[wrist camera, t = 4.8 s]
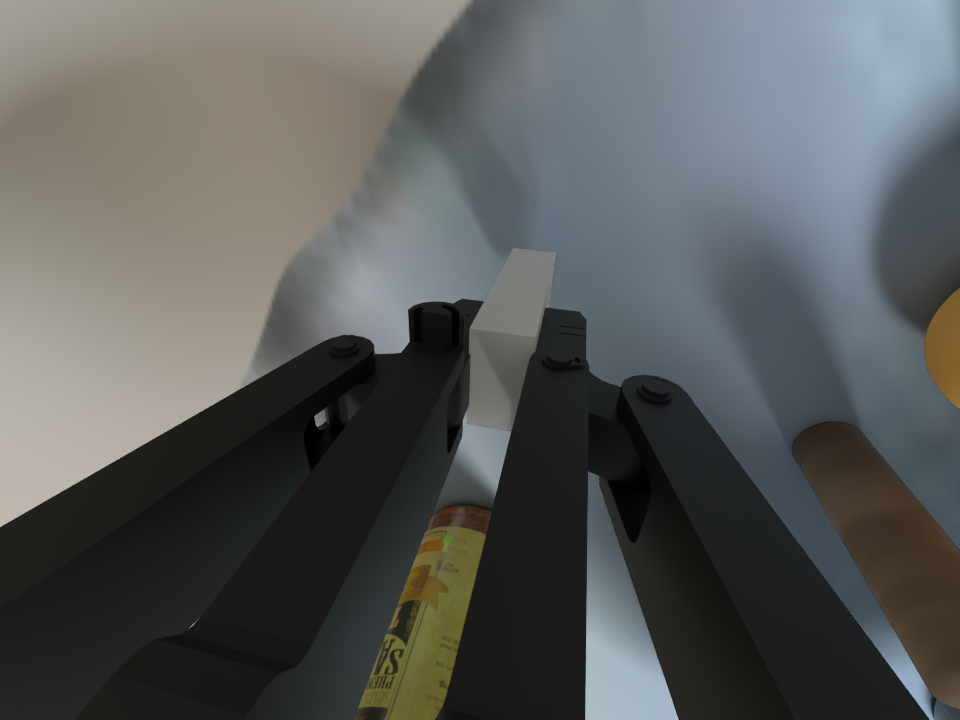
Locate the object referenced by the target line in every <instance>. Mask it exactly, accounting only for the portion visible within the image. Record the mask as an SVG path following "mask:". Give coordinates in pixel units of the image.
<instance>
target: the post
mask: <svg viewBox="0 0 960 720" xmlns="http://www.w3.org/2000/svg"><path fill="white" fill-rule="evenodd" d="M792 454H793V456H794V458H795V460H796V462H797V463H798V465H799V467H800V469H801V470H802V472H803V474H804V475H805V477H806V479H807V481H808V482H809V484H810V486H811V488H812V489H813V491H814V493H815V494H816V496H817V498H818V500H819V501H820V503H821V505H822V507H823V508H824V510H825V512H826V513H827V515H828V517H829V519H830V520H831V522H832V524H833V526H834V527H835V529H836V531H837V532H838V534H839V536H840V538H841V539H842V541H843V543H844V545H845V546H846V548H847V550H848V551H849V553H850V555H851V557H852V558H853V560H854V562H855V564H856V565H857V567H858V569H859V570H860V572H861V574H862V576H863V577H864V579H865V581H866V583H867V584H868V586H869V588H870V589H871V591H872V593H873V595H874V596H875V598H876V600H877V602H878V603H879V605H880V607H881V608H882V610H883V612H884V614H885V615H886V617H887V619H888V621H889V622H890V624H891V626H892V628H893V629H894V631H895V633H896V634H897V636H898V638H899V640H900V641H901V643H902V645H903V647H904V648H905V650H906V652H907V653H908V655H909V657H910V659H911V660H912V662H913V664H914V666H915V667H916V669H917V671H918V672H919V674H920V676H921V678H922V679H923V681H924V683H925V685H926V686H927V688H928V690H929V691H930V693H931V694H932V695H933V696H934V697H935V698H936V699H937V700H939V701H941V702H942V703H944V704H946V705H949V706H951V707H954V708H958V709H960V550H959V549H958V548H957V546H956V545H955V544H954V543H953V542H952V540H951V539H950V538H949V537H948V536H947V534H946V533H945V532H944V531H943V530H942V528H941V527H940V526H939V525H938V524H937V522H936V521H935V520H934V519H933V518H932V516H931V515H930V514H929V513H928V512H927V510H926V509H925V508H924V507H923V505H922V504H921V503H920V502H919V501H918V499H917V498H916V497H915V496H914V495H913V493H912V492H911V491H910V490H909V489H908V487H907V486H906V485H905V484H904V483H903V481H902V480H901V479H900V478H899V477H898V475H897V474H896V473H895V472H894V471H893V469H892V468H891V467H890V466H889V465H888V463H887V462H886V461H885V460H884V459H883V457H882V456H881V455H880V454H879V452H878V451H877V450H876V449H875V448H874V446H873V445H872V444H871V443H870V442H869V440H868V439H867V438H866V437H865V436H864V434H863V433H862V432H861V431H860V430H859V429H858V428H856V427H855V426H852V425H850V424H847V423H841V422H827V423H822V424H818V425H815V426H812V427H810V428H808V429H806V430H805V431H803V432H802V433H801V434H800V435H799V436H798V437H797V438H796V439H795V441H794V443H793V446H792Z"/></svg>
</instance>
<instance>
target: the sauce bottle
mask: <svg viewBox="0 0 960 720" xmlns="http://www.w3.org/2000/svg"><path fill="white" fill-rule="evenodd" d="M491 513H492V512H491V511H488V510H484V509H481V508H479V507H475V506H470V505H460V506H457V505H456V506H452V507H448V508H445V509H443V510H441V511H439V512H438V513H436V514H435V515H434V516H433V517H432V518H431V519H430V521H429V524H428V527H427V529H426V532H425V534H424V537H423V540H422V542H421V545H420V547H419V550H418V553H417V555H416V558H415V561H414V563H413V566H412V568H411V571H410V574H409V576H408V579H407V581H406V584H405V587H404V589H403V592H402V594H401V597H400V600H399V602H398V605H397V607H396V610H395V613H394V615H393V618H392V621H391V623H390V626H389V628H388V631H387V634H386V636H385V639H384V641H383V644H382V647H381V649H380V652H379V654H378V657H377V660H376V662H375V665H374V667H373V670H372V673H371V675H370V678H369V680H368V683H367V686H366V688H365V691H364V694H363V696H362V699H361V701H360V704H359V707H358V709H357V712H356V714H355V717H354V720H435V718H436V717H437V715H438V713H439V712H440V710H441V708H442V706H443V703H444V700H445V698H446V694H447V690H448V687H449V683H450V679H451V675H452V671H453V667H454V663H455V659H456V654H457V650H458V646H459V642H460V638H461V634H462V630H463V626H464V622H465V618H466V614H467V610H468V606H469V602H470V598H471V594H472V590H473V586H474V582H475V577H476V573H477V569H478V565H479V561H480V557H481V553H482V549H483V545H484V541H485V537H486V533H487V529H488V525H489V521H490V517H491Z"/></svg>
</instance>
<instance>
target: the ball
mask: <svg viewBox="0 0 960 720" xmlns="http://www.w3.org/2000/svg"><path fill="white" fill-rule="evenodd" d="M924 354H925V360H926V365H927V369H928V371H929V373H930V375H931V377H932V379H933V381H934V383H935V384H936V386H937V387H938V389H939V390H940V391H941V392H942V393H943V395H944V396H945V397H946V398H947V399H948V400H949V401H950V402H951V403H952V404H954V405H955V406H956V407H957V408H959V409H960V288H959V289H957V290H956V291H955V292H954V293H953V294H952V295H950V296H949V297H948V298H947V300H946V301H945V302H944V303H943V304H942V305H941V306H940V308H939V309H938V310H937V312H936V313H935V315H934V316H933V318H932V320H931V322H930V324H929V327H928V330H927V333H926V338H925V344H924Z"/></svg>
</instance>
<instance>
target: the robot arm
mask: <svg viewBox="0 0 960 720" xmlns="http://www.w3.org/2000/svg"><path fill="white" fill-rule="evenodd" d="M555 256H556V252H549V251H539V250H529V249H519V248H513V249H512V251H511V253H510V255H509V257H508V258H507V260H506V262H505V264H504V266H503V268H502V270H501V271H500V273H499V275H498V277H497V279H496V281H495V282H494V284H493V286H492V288H491V290H490V292H489V293H488V295H487V297H486V299H485V301H476V300H467V299H461V300H459V301H457V302H455V303H453V304H451V303H446V302H426V303H421V304H418V305H415V306H413V307H411V308H410V309H408V316H409V335H410V342H409V343H408V345H407V346H406V347H405V349H404V350H403V351H402V353H396V354H375V351H374V345H373V343H372V342H371V341H370V340H368V339H366V338H364V337H359V336H355V335H348V336H347V335H342V336H339V337H335V338H331V339H328V340H326V341H324V342H322V343H320V344H318V345H316V346H315V347H313V348H311V349H309V350H308V351H306V352H304V353H302V354H301V355H299V356H297V357H295V358H294V359H292V360H290V361H289V362H287V363H285V364H283V365H282V366H280V367H278V368H276V369H275V370H273V371H271V372H269V373H268V374H266V375H264V376H262V377H261V378H259V379H257V380H255V381H254V382H252V383H250V384H249V385H247V386H245V387H243V388H242V389H240V390H238V391H236V392H235V393H233V394H231V395H229V396H228V397H226V398H224V399H222V400H221V401H219V402H217V403H216V404H214V405H212V406H210V407H209V408H207V409H205V410H203V411H202V412H200V413H198V414H196V415H195V416H193V417H191V418H189V419H188V420H186V421H184V422H183V423H181V424H179V425H177V426H175V427H174V428H172V429H170V430H169V431H167V432H165V433H163V434H162V435H160V436H158V437H156V438H155V439H153V440H151V441H149V442H148V443H146V444H144V445H143V446H141V447H139V448H137V449H135V450H134V451H132V452H130V453H128V454H127V455H125V456H123V457H122V458H120V459H118V460H116V461H115V462H113V463H111V464H109V465H108V466H106V467H104V468H102V469H101V470H99V471H97V472H95V473H94V474H92V475H90V476H88V477H87V478H85V479H83V480H82V481H80V482H78V483H76V484H75V485H73V486H71V487H69V488H68V489H66V490H64V491H62V492H61V493H59V494H57V495H55V496H54V497H52V498H50V499H49V500H47V501H45V502H43V503H42V504H40V505H38V506H36V507H35V508H33V509H31V510H29V511H28V512H26V513H24V514H22V515H21V516H19V517H17V518H15V519H14V520H12V521H10V522H8V523H7V524H5V525H3V526H2V527H0V720H354V717H355V714H356V712H357V709H358V707H359V704H360V701H361V699H362V696H363V694H364V691H365V688H366V686H367V683H368V680H369V678H370V675H371V673H372V670H373V667H374V665H375V662H376V660H377V657H378V654H379V652H380V649H381V647H382V644H383V641H384V639H385V636H386V634H387V631H388V628H389V626H390V623H391V621H392V618H393V615H394V613H395V610H396V607H397V605H398V602H399V600H400V597H401V594H402V592H403V589H404V587H405V584H406V581H407V579H408V576H409V574H410V571H411V568H412V566H413V563H414V561H415V558H416V555H417V553H418V550H419V547H420V545H421V542H422V540H423V537H424V534H425V532H426V529H427V527H428V524H429V521H430V519H431V516H432V514H433V511H434V508H435V506H436V503H437V501H438V498H439V495H440V493H441V490H442V488H443V485H444V482H445V480H446V477H447V474H448V472H449V469H450V467H451V464H452V461H453V459H454V456H455V454H456V451H457V448H458V446H459V443H460V441H461V438H462V431H463V418H464V415H465V413H466V410H467V424H472V425H478V426H484V427H490V428H496V429H501V430H507V431H512V432H511V436H510V440H509V444H508V448H507V452H506V456H505V460H504V464H503V468H502V472H501V476H500V480H499V484H498V488H497V492H496V496H495V500H494V505H493V509H492V513H491V517H490V521H489V525H488V529H487V533H486V537H485V541H484V545H483V549H482V553H481V557H480V561H479V565H478V569H477V573H476V577H475V582H474V586H473V590H472V594H471V598H470V602H469V606H468V610H467V614H466V618H465V622H464V626H463V630H462V634H461V638H460V642H459V646H458V650H457V654H456V659H455V663H454V667H453V671H452V675H451V679H450V683H449V687H448V690H447V694H446V698H445V700H444V703H443V706H442V708H441V710H440V712H439V713H438V715H437V717H436V718H435V720H585V683H586V593H587V504H588V471H589V472H591V473H594V474H596V475H598V476H599V485H600V488H601V491H602V494H603V497H604V500H605V503H606V506H607V509H608V512H609V515H610V518H611V521H612V524H613V527H614V529H615V532H616V535H617V538H618V541H619V544H620V547H621V550H622V553H623V556H624V559H625V562H626V565H627V568H628V571H629V574H630V577H631V580H632V583H633V586H634V589H635V592H636V594H637V597H638V600H639V603H640V606H641V609H642V612H643V615H644V618H645V621H646V624H647V627H648V630H649V633H650V636H651V639H652V642H653V645H654V648H655V651H656V654H657V656H658V659H659V662H660V665H661V668H662V671H663V674H664V677H665V680H666V683H667V686H668V689H669V692H670V695H671V698H672V701H673V704H674V707H675V710H676V713H677V716H678V718H679V720H929V718H928V717H927V716H926V714H925V713H924V711H923V710H922V709H921V707H920V706H919V705H918V703H917V702H916V701H915V699H914V698H913V697H912V695H911V694H910V693H909V691H908V690H907V689H906V687H905V686H904V685H903V683H902V682H901V681H900V679H899V678H898V677H897V675H896V674H895V672H894V671H893V670H892V668H891V667H890V666H889V664H888V663H887V662H886V660H885V659H884V658H883V656H882V655H881V654H880V652H879V651H878V650H877V648H876V647H875V646H874V644H873V643H872V642H871V640H870V639H869V638H868V636H867V635H866V633H865V632H864V631H863V629H862V628H861V627H860V625H859V624H858V623H857V621H856V620H855V619H854V617H853V616H852V615H851V613H850V612H849V611H848V609H847V608H846V607H845V605H844V604H843V603H842V601H841V600H840V598H839V597H838V596H837V594H836V593H835V592H834V590H833V589H832V588H831V586H830V585H829V584H828V582H827V581H826V580H825V578H824V577H823V576H822V574H821V573H820V572H819V570H818V569H817V568H816V566H815V565H814V564H813V562H812V561H811V559H810V558H809V557H808V555H807V554H806V553H805V551H804V550H803V549H802V547H801V546H800V545H799V543H798V542H797V541H796V539H795V538H794V537H793V535H792V534H791V533H790V531H789V530H788V529H787V527H786V526H785V525H784V523H783V522H782V520H781V519H780V518H779V516H778V515H777V514H776V512H775V511H774V510H773V508H772V507H771V506H770V504H769V503H768V502H767V500H766V499H765V498H764V496H763V495H762V494H761V492H760V491H759V490H758V488H757V487H756V485H755V484H754V483H753V481H752V480H751V479H750V477H749V476H748V475H747V473H746V472H745V471H744V469H743V468H742V467H741V465H740V464H739V463H738V461H737V460H736V459H735V457H734V456H733V455H732V453H731V452H730V451H729V449H728V448H727V446H726V445H725V444H724V442H723V441H722V440H721V438H720V437H719V436H718V434H717V433H716V432H715V430H714V429H713V428H712V426H711V425H710V424H709V422H708V421H707V420H706V418H705V417H704V416H703V414H702V413H701V412H700V410H699V409H698V407H697V406H696V405H695V403H694V402H693V401H692V399H691V398H690V397H689V395H688V394H687V393H686V392H685V391H684V390H683V389H682V388H681V387H680V386H678V385H676V384H674V383H672V382H671V381H669V380H667V379H664V378H660V377H657V376H647V375H639V376H632V377H630V378H628V379H625V381H624V382H623V384H622V385H621V387H618V386H615V385H612V384H609V383H607V382H604V381H602V380H600V379H599V378H597V377H595V376H594V375H593V374H592V373H591V372H590V371H589V365H588V362H587V360H586V319H585V318H584V317H583V315H582V314H581V313H580V312H578V311H569V310H561V309H553V308H549V303H550V295H551V287H552V279H553V271H554V264H555ZM323 409H324V410H325V415H326V422H325V423H324V424H322V425H321V426H319V427H317V426H316V424H315V419H314V416H315V415H316V414H318V413H319V412H321V411H322V410H323ZM197 620H198V621H197ZM196 621H197V622H196ZM195 622H196V623H195ZM194 623H195V624H194ZM193 624H194V625H193ZM192 625H193V626H192ZM191 626H192V627H191ZM190 627H191V628H190ZM934 718H935V720H960V709H958V708H954V707H951V706H949V705H946V704H944V703H942V702H941V701H939V700H937V699H936V702H935V705H934Z"/></svg>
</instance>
